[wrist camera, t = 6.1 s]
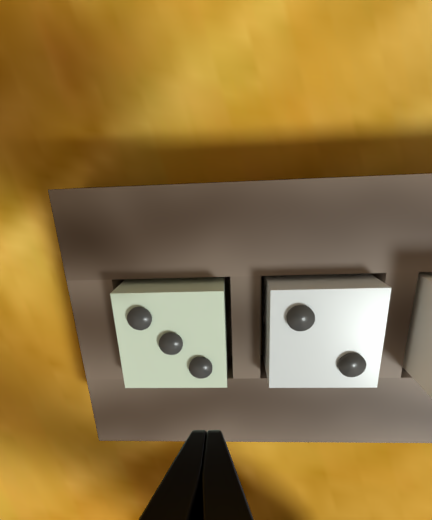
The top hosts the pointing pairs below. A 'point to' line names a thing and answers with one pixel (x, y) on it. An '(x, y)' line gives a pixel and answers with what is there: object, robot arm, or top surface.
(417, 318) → the tile one
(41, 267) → the top surface
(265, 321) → the tile two
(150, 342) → the tile three
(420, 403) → the grey tray with tiles
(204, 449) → the robot arm
